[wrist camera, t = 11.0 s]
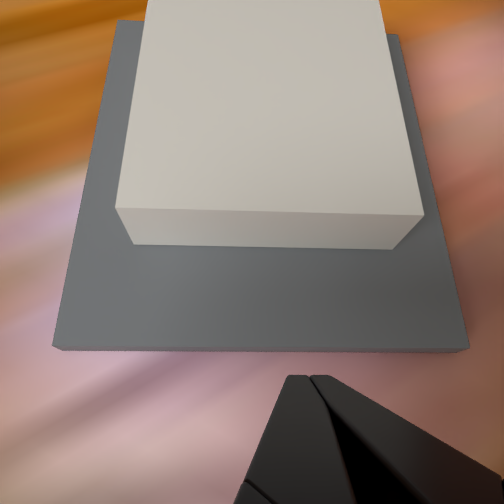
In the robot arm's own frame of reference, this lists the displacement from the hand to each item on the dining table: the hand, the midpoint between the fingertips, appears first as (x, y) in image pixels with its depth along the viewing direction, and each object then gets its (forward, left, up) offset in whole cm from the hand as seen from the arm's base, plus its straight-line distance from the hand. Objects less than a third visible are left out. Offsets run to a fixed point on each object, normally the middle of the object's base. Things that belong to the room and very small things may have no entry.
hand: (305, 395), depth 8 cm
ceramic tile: (+6, -3, -6) cm, 8 cm away
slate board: (+10, -5, -8) cm, 14 cm away
